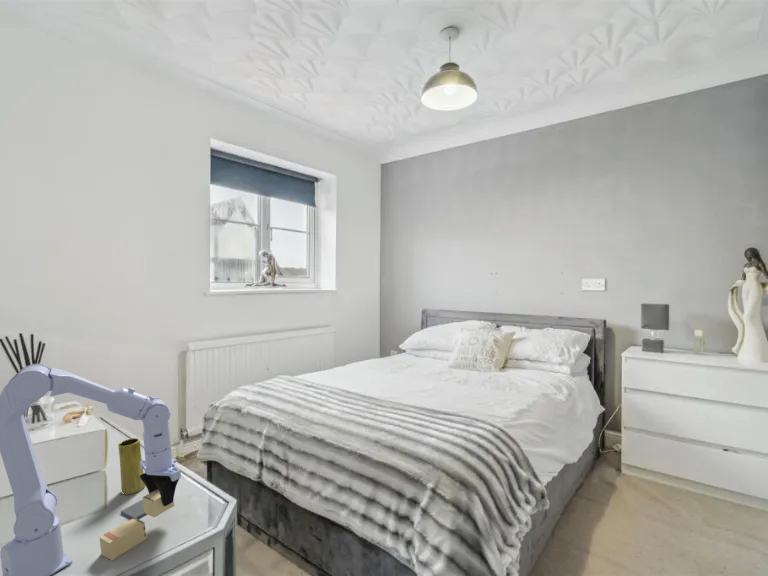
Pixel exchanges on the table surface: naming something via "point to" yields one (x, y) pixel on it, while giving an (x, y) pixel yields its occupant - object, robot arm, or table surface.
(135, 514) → the coaster
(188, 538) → the table surface
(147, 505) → the stub
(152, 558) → the table surface
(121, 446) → the vase
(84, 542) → the table surface
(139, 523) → the cardboard shipping box
